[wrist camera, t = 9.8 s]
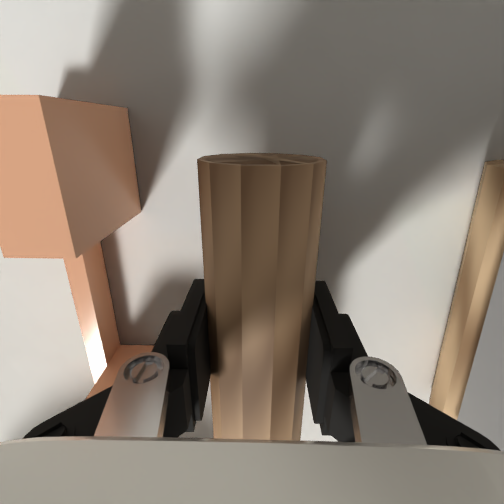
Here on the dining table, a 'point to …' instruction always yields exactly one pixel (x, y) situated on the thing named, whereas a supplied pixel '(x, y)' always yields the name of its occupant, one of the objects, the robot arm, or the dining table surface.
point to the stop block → (70, 205)
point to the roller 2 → (471, 292)
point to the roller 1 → (259, 287)
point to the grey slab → (488, 373)
